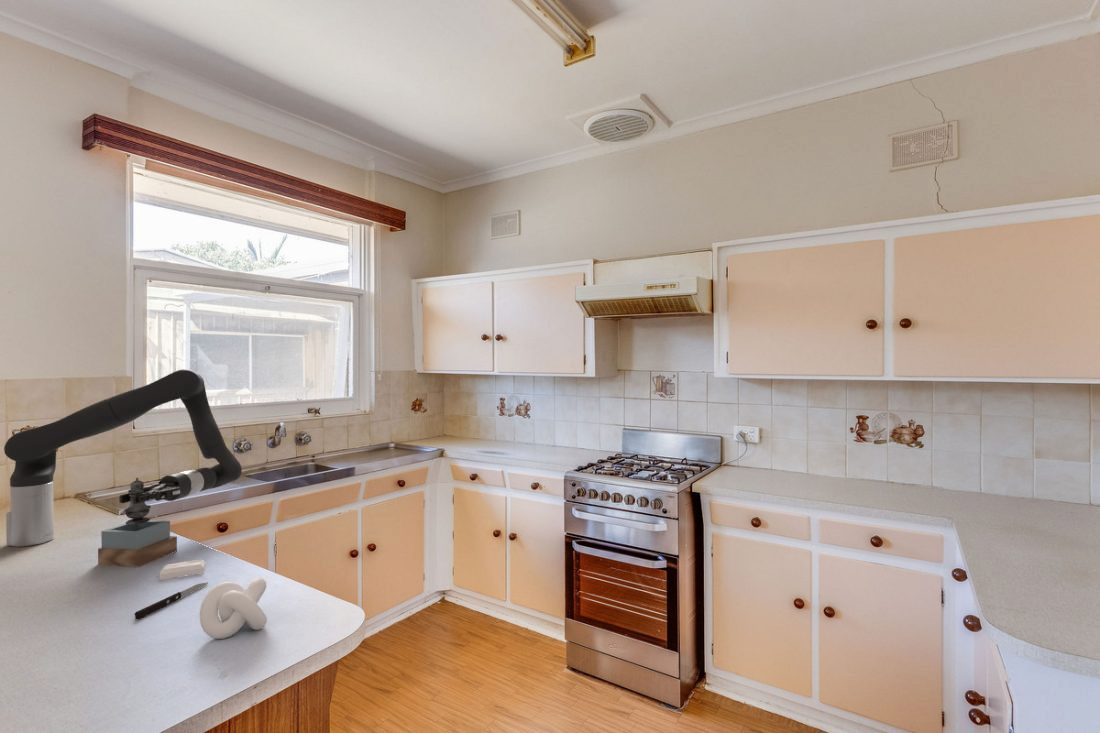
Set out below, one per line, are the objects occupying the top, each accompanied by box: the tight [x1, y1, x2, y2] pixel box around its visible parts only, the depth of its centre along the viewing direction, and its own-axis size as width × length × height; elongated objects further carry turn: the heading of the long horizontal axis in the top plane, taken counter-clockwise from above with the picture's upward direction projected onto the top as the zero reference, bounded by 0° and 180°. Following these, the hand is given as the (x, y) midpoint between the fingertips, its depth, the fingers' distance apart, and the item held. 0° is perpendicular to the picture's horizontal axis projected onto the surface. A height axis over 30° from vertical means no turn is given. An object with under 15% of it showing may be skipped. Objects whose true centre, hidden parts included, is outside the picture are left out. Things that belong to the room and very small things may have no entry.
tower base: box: [97, 535, 178, 568], centre depth 146 cm, size 12×12×4 cm
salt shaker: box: [123, 477, 152, 524], centre depth 147 cm, size 6×6×12 cm
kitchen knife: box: [134, 582, 209, 621], centre depth 119 cm, size 18×1×2 cm, turn 169°
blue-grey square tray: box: [100, 519, 171, 550], centre depth 146 cm, size 10×10×4 cm
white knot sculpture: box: [199, 577, 268, 640], centre depth 107 cm, size 11×12×9 cm
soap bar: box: [159, 559, 206, 581], centre depth 135 cm, size 5×9×3 cm, turn 118°
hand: (127, 499), depth 144 cm, fingers closed on salt shaker, 3 cm apart
